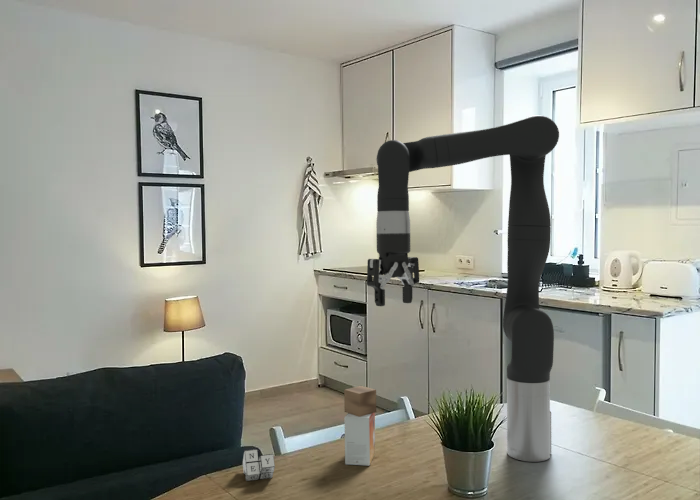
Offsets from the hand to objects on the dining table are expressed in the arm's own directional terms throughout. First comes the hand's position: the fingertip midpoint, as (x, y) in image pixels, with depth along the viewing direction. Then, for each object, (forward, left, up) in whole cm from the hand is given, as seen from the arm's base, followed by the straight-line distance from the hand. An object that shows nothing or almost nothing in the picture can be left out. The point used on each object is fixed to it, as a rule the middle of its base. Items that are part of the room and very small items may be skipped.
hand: (394, 304), depth 136 cm
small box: (+7, -4, -34) cm, 35 cm away
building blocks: (+29, -11, -34) cm, 46 cm away
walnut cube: (+7, -4, -24) cm, 25 cm away
